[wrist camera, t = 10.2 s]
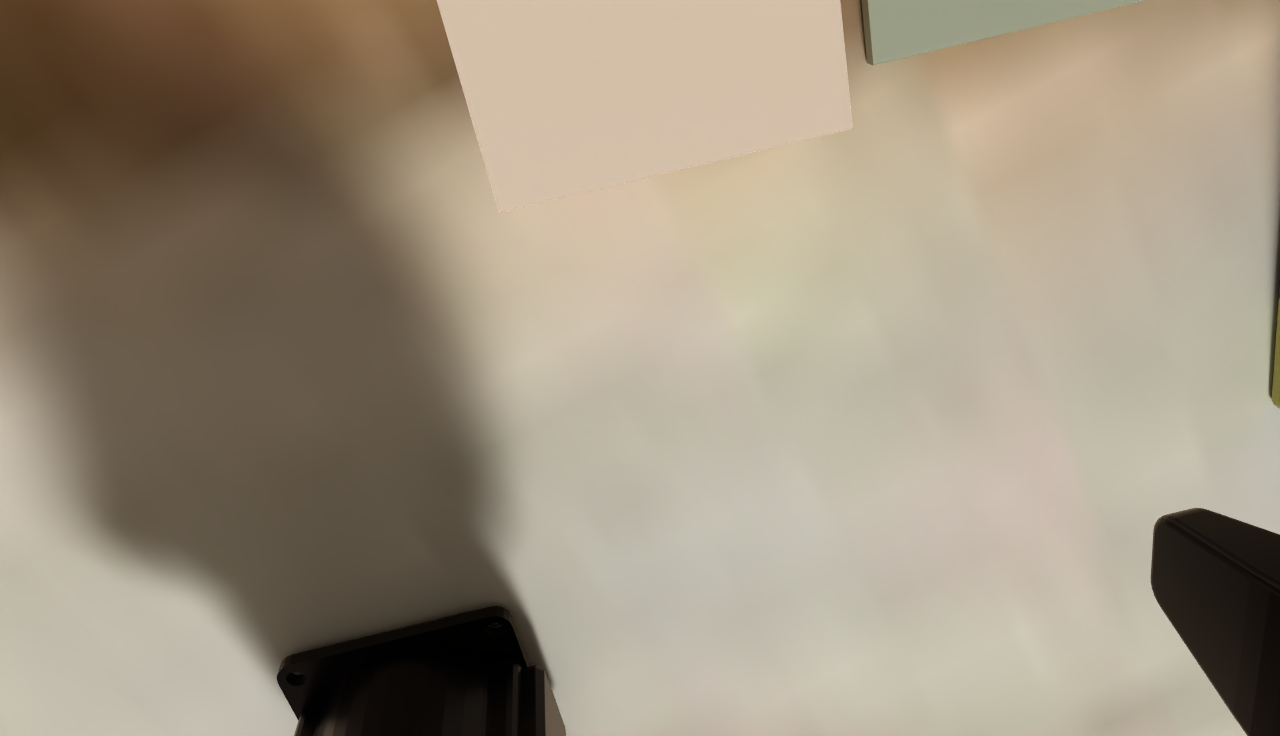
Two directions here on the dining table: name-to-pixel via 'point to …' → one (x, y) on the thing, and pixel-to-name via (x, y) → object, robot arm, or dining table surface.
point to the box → (640, 86)
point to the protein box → (1277, 364)
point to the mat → (958, 22)
